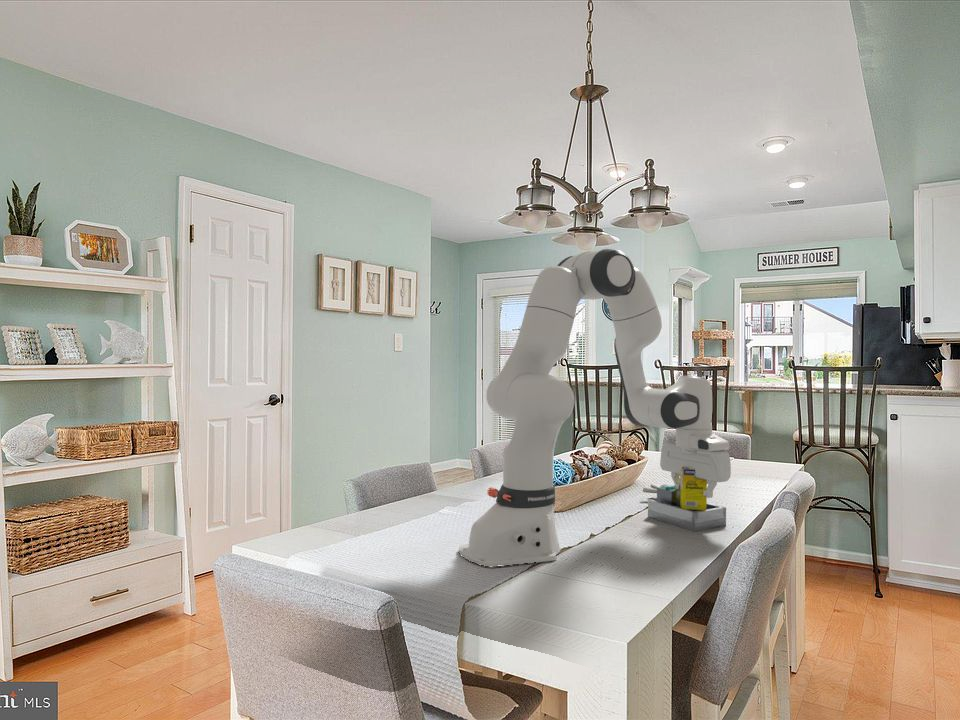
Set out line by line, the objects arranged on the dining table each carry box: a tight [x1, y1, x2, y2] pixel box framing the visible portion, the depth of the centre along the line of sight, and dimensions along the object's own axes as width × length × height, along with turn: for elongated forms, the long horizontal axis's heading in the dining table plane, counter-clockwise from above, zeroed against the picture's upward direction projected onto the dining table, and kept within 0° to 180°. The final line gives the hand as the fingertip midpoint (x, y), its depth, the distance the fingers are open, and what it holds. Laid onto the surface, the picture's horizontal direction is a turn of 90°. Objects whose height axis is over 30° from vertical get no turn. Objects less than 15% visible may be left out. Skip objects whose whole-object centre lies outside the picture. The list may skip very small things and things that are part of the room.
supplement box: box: [679, 467, 708, 511], centre depth 167 cm, size 6×6×11 cm
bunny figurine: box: [642, 482, 675, 494], centre depth 191 cm, size 10×5×15 cm
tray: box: [647, 485, 727, 532], centre depth 169 cm, size 11×16×8 cm
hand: (693, 493), depth 167 cm, fingers closed on supplement box, 8 cm apart
